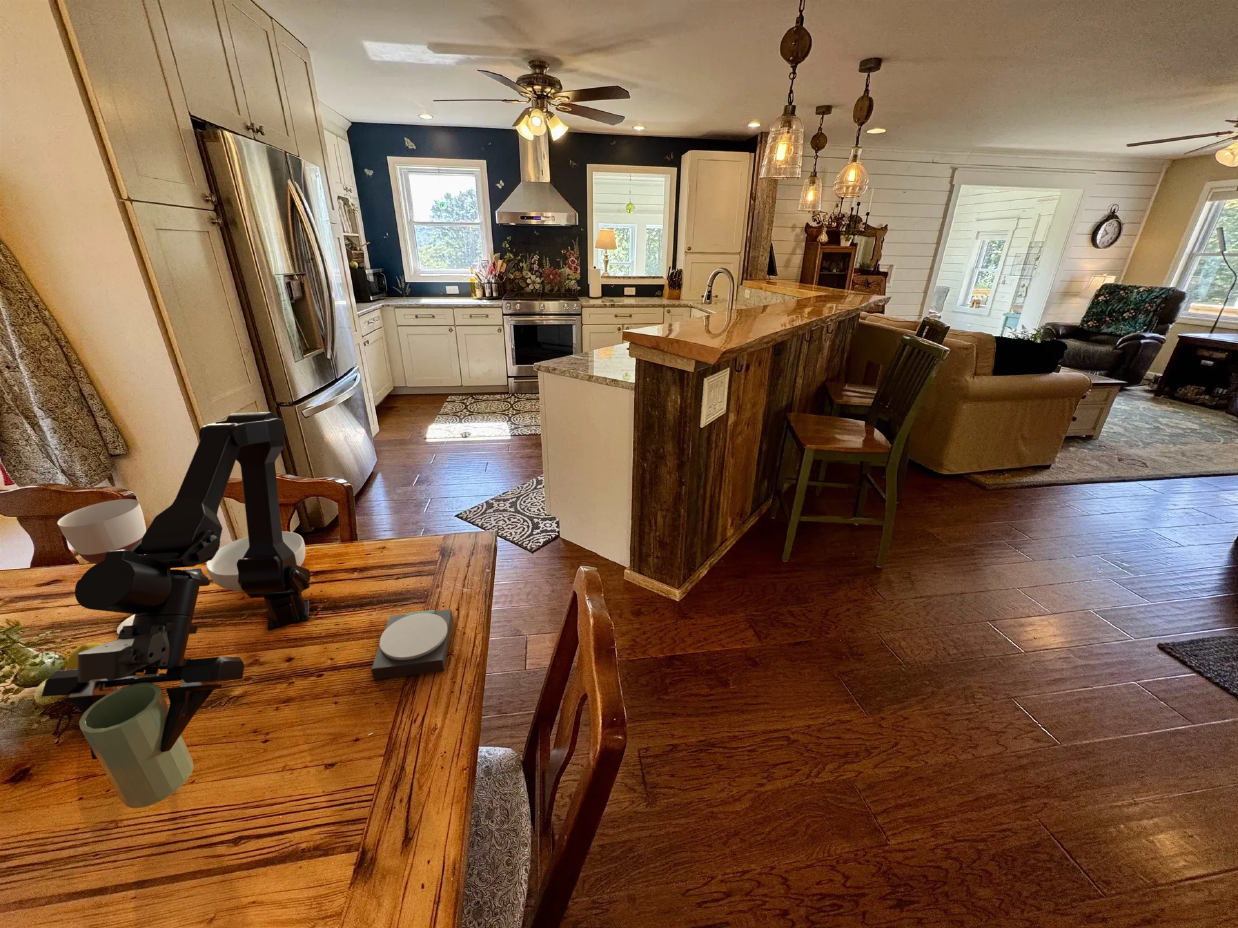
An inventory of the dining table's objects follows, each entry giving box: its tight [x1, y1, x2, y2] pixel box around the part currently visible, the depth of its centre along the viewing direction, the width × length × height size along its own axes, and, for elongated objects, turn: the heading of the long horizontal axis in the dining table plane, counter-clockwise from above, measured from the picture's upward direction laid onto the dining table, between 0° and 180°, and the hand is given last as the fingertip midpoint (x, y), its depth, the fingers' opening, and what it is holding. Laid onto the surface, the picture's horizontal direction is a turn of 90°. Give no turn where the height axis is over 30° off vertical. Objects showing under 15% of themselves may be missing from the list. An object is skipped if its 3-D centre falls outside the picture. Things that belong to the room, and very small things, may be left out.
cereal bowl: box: [205, 530, 307, 592], centre depth 103 cm, size 17×17×7 cm
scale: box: [370, 608, 454, 681], centre depth 86 cm, size 13×11×3 cm
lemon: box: [65, 642, 105, 670], centre depth 77 cm, size 6×6×8 cm
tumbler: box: [78, 682, 195, 809], centre depth 59 cm, size 7×7×13 cm
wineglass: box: [57, 498, 147, 635], centre depth 88 cm, size 9×10×23 cm
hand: (131, 755), depth 58 cm, fingers closed on tumbler, 7 cm apart
